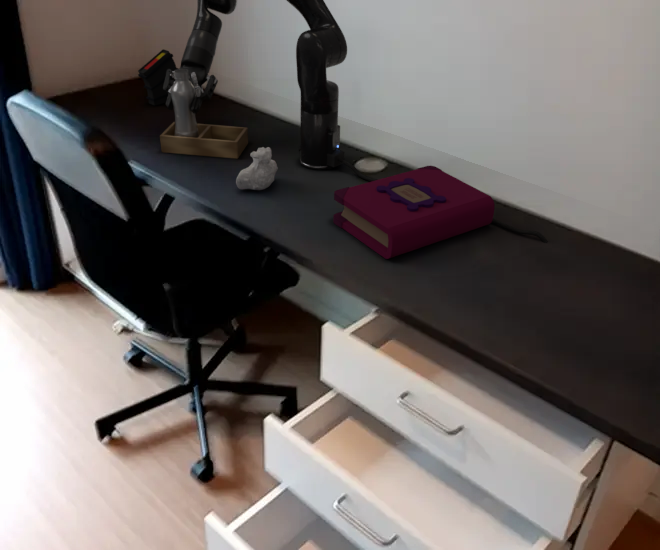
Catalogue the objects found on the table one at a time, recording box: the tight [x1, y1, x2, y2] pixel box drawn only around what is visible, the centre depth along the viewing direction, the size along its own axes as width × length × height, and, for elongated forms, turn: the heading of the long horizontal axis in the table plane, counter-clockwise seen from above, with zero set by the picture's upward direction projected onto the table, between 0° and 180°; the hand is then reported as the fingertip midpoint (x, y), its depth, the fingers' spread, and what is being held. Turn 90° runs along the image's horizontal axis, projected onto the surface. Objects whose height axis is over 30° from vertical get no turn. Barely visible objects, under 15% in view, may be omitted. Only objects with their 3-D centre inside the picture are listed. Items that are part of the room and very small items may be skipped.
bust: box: [235, 146, 279, 191], centre depth 167 cm, size 12×8×11 cm
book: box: [332, 165, 496, 260], centre depth 154 cm, size 21×28×8 cm
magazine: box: [137, 49, 180, 106], centre depth 217 cm, size 4×13×15 cm, turn 138°
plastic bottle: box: [170, 69, 199, 138], centre depth 185 cm, size 6×7×20 cm
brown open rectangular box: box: [159, 121, 249, 160], centre depth 188 cm, size 20×11×4 cm, turn 81°
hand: (181, 110), depth 183 cm, fingers open, 6 cm apart
